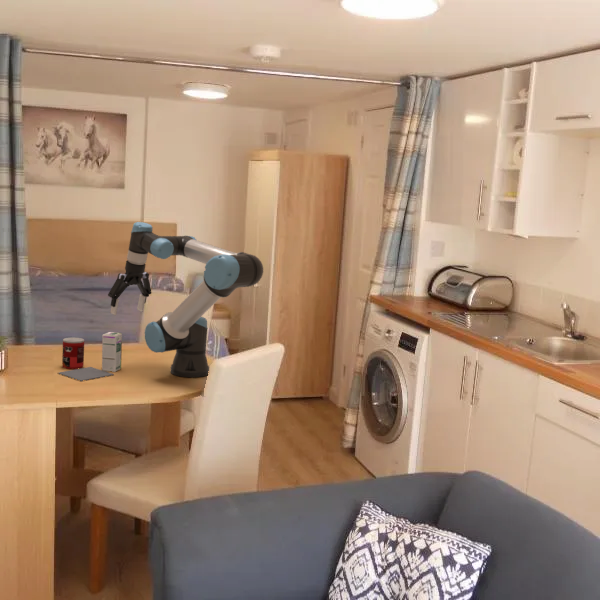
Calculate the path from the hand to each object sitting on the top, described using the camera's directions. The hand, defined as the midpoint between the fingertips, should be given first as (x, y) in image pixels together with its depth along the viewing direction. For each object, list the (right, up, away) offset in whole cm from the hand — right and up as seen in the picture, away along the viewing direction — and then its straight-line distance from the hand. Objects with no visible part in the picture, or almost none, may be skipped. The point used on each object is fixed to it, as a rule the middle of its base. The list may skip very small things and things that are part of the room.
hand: (126, 312), depth 292 cm
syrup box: (-5, -23, -5) cm, 24 cm away
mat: (-12, -23, -14) cm, 30 cm away
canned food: (-20, -21, -5) cm, 30 cm away
